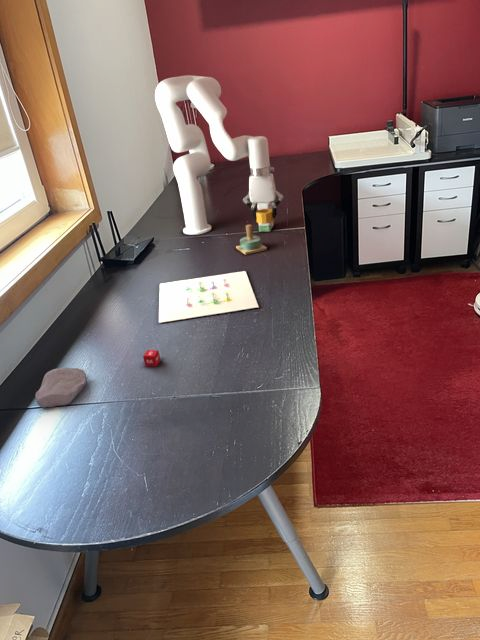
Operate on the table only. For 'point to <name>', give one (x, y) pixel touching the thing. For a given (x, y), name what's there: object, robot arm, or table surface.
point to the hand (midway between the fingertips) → (265, 217)
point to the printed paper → (205, 296)
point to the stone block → (60, 387)
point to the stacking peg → (250, 243)
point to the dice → (151, 358)
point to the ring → (264, 216)
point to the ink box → (269, 225)
